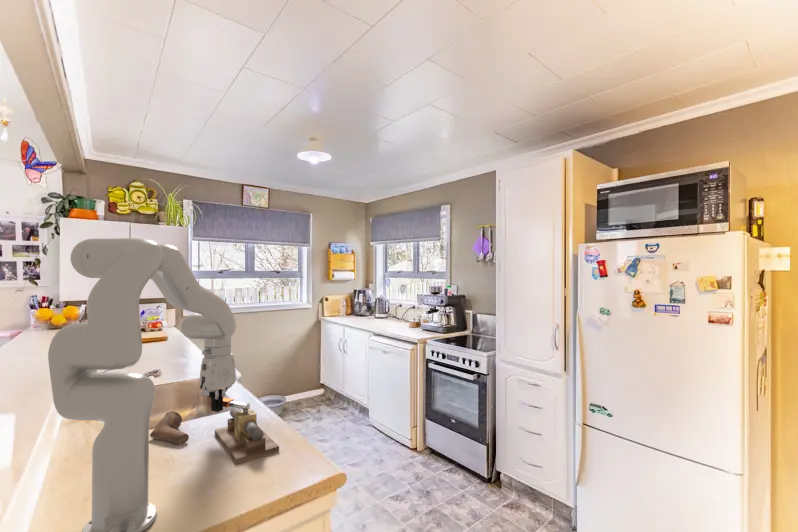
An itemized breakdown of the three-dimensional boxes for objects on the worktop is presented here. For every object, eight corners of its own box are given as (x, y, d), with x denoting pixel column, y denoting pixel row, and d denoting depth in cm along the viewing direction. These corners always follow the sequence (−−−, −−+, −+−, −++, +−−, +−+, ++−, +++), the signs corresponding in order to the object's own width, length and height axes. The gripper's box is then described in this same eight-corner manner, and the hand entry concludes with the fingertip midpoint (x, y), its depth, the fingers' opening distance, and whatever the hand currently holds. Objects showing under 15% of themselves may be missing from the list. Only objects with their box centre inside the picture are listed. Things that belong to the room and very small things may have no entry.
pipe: (176, 433, 113) (205, 415, 122) (140, 423, 119) (169, 408, 128) (179, 452, 114) (207, 434, 123) (143, 442, 120) (172, 425, 129)
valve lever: (245, 411, 115) (245, 405, 115) (211, 404, 121) (211, 398, 121) (251, 408, 118) (251, 402, 118) (218, 401, 124) (218, 396, 124)
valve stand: (279, 451, 111) (279, 415, 111) (236, 464, 104) (236, 426, 104) (252, 424, 130) (252, 394, 130) (214, 434, 123) (215, 401, 123)
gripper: (205, 357, 110) (205, 421, 109) (245, 347, 123) (244, 404, 123) (187, 354, 112) (186, 417, 112) (228, 346, 126) (227, 401, 126)
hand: (217, 410), depth 118 cm, fingers closed
